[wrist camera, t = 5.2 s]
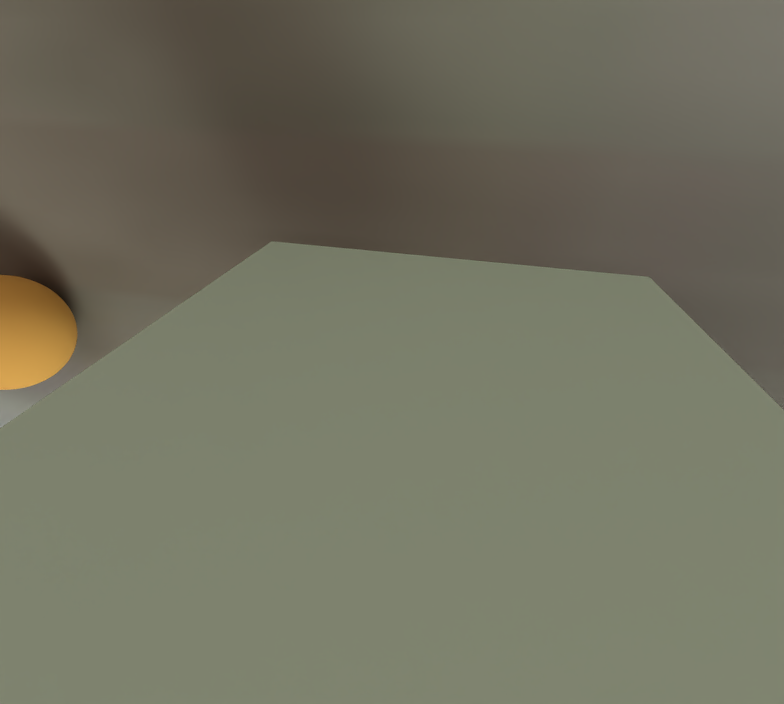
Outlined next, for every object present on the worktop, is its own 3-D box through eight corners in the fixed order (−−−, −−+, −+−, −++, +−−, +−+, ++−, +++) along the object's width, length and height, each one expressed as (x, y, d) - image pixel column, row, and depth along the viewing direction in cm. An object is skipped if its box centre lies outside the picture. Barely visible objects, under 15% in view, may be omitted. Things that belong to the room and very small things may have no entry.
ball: (83, 263, 20) (-17, 311, 16) (114, 357, 23) (35, 419, 19) (-18, 254, 21) (-141, 298, 16) (24, 347, 23) (-74, 406, 19)
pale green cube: (649, 277, 9) (1812, 1428, 1) (558, 539, 13) (688, 1211, 5) (271, 241, 10) (-486, 762, 2) (293, 496, 13) (57, 1012, 6)
